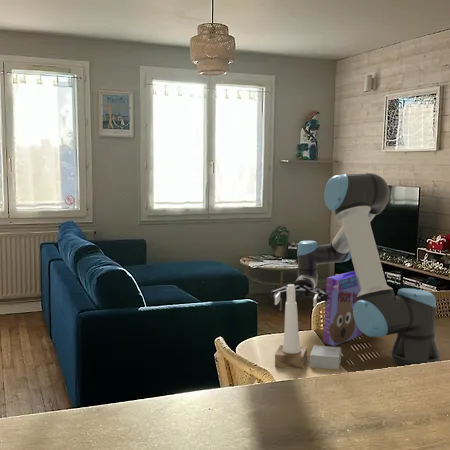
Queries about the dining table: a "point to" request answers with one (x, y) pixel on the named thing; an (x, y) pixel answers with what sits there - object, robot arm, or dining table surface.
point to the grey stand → (325, 357)
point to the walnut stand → (290, 358)
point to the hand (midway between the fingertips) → (295, 301)
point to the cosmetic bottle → (291, 324)
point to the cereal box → (340, 309)
